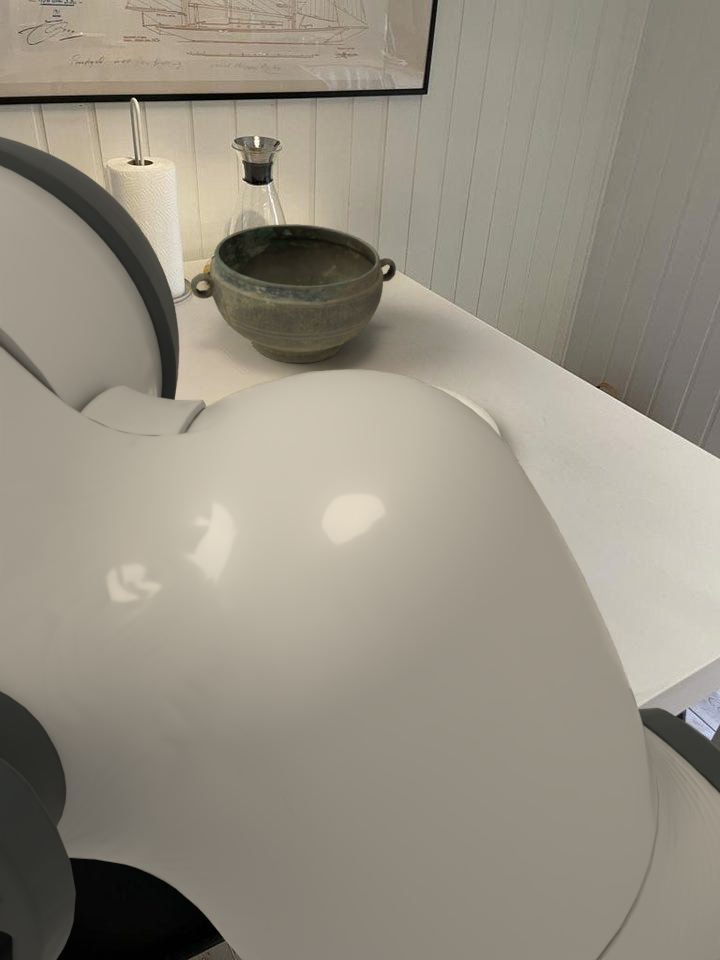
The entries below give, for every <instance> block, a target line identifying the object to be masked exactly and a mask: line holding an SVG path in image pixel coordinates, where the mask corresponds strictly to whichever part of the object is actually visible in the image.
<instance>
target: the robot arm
mask: <svg viewBox="0 0 720 960" xmlns="http://www.w3.org/2000/svg"><path fill="white" fill-rule="evenodd" d="M172 293H173V292H172V290H171V286H170V284H169V281H168V279H167V276H166V273H165V270H164V267H163V266H162V264H161V261H160V259H159V257H158V255H157V253H156V250H155V249H154V247H153V246H152V244H151V243H150V241H149V239H148V237H147V236H146V235H145V233H144V232H143V230H142V229H141V227H140V225H139V224H138V223H137V222H136V221H135V219H134V217H132V216H131V214H130V213H129V212H128V211H127V210H126V208H125V207H124V206H123V205H122V204H121V203H120V202H119V201H118V200H117V199H116V198H115V197H114V196H113V195H112V194H111V193H110V192H108V191H107V190H106V189H105V188H104V187H103V186H102V185H100V183H98V182H96V180H94V179H92V178H91V177H90V176H89V175H87V173H84V172H83V171H82V170H80V169H78V168H77V167H75V166H73V165H72V164H70V163H68V162H67V161H65V160H62V159H60V158H58V157H57V156H55V155H52V154H50V153H48V152H46V151H43V150H41V149H40V148H36V147H33V146H31V145H29V144H26V143H24V142H21V141H18V140H14V139H11V138H7V137H3V136H0V960H57V959H58V958H59V956H60V955H61V953H62V952H63V950H64V948H65V946H66V944H67V941H68V940H69V937H70V935H71V931H72V928H73V924H74V919H75V907H76V896H77V892H76V886H75V881H74V875H73V868H72V863H71V859H86V860H98V861H104V862H110V863H116V864H121V865H127V866H130V867H133V868H136V869H139V870H140V871H143V872H144V873H145V872H146V873H148V874H150V875H152V876H154V877H156V878H158V879H160V880H161V881H164V882H165V883H167V884H168V885H170V886H171V887H173V888H174V889H176V890H177V891H178V892H179V893H180V894H182V895H183V896H184V897H185V898H186V899H187V900H189V901H190V902H191V903H192V904H193V905H194V906H196V907H197V908H198V909H199V910H200V911H201V912H202V914H203V915H205V917H206V918H207V919H208V920H209V921H210V923H211V924H212V926H214V928H215V929H216V930H217V931H218V933H219V934H220V935H221V936H222V938H223V939H224V941H225V942H226V943H227V944H228V945H229V946H230V947H231V949H232V950H233V951H234V952H235V953H236V955H238V957H239V959H241V960H720V747H719V746H718V745H717V744H715V742H713V741H712V740H711V739H709V738H708V737H707V736H706V735H704V734H703V733H702V732H700V731H698V730H697V729H696V728H695V727H694V726H692V725H690V724H689V723H688V722H687V721H684V720H683V719H681V718H679V717H678V716H677V715H675V714H673V713H671V712H669V711H668V710H666V709H663V708H660V707H647V708H639V707H638V704H637V703H638V702H637V700H636V696H635V695H634V692H633V689H632V686H631V683H630V680H629V678H628V676H627V673H626V671H625V668H624V665H623V663H622V660H621V657H620V654H619V652H618V649H617V647H616V645H615V643H614V640H613V637H612V635H611V633H610V630H609V629H608V626H607V624H606V621H605V620H604V617H603V615H602V613H601V611H600V609H599V606H598V604H597V601H596V600H595V598H594V595H593V593H592V590H591V588H590V586H589V584H588V582H587V580H586V578H585V576H584V573H583V572H582V569H581V568H580V566H579V564H578V562H577V560H576V558H575V556H574V554H573V553H572V551H571V549H570V547H569V545H568V543H567V541H566V540H565V537H564V535H563V534H562V532H561V530H560V529H559V526H558V524H557V522H556V520H555V518H554V517H553V516H552V514H551V513H550V510H549V509H548V507H547V506H546V504H545V502H544V500H543V499H542V497H541V496H540V494H539V493H538V491H537V489H536V487H535V486H534V485H533V483H532V480H531V479H530V478H529V476H528V475H527V473H526V471H525V470H524V468H523V466H522V464H521V463H520V461H519V459H518V458H517V456H516V454H515V453H514V452H513V451H512V449H511V448H510V447H509V445H508V444H507V443H506V442H505V440H504V439H503V437H502V436H501V437H500V436H499V434H498V433H497V432H496V431H495V430H494V429H493V428H492V426H491V425H490V424H489V423H488V422H487V421H485V420H484V419H483V418H482V417H481V416H480V415H478V414H477V413H476V412H475V411H474V410H473V409H471V408H470V407H468V406H467V405H466V404H464V403H463V402H461V401H460V400H458V399H457V398H455V397H453V396H451V395H450V394H448V393H446V392H445V391H443V390H441V389H439V388H436V387H434V386H435V385H434V386H432V385H433V384H431V385H429V384H430V383H426V382H423V381H421V380H419V379H414V378H413V377H410V376H407V375H401V374H399V373H394V372H387V371H378V370H371V369H361V368H355V369H349V368H348V369H347V368H346V369H345V368H343V369H330V370H329V369H328V370H317V371H307V372H301V373H300V372H299V373H295V374H290V375H285V376H283V377H279V378H274V379H271V380H268V381H263V382H260V383H257V384H253V385H252V386H248V387H246V388H243V389H241V390H238V391H235V392H233V393H230V394H228V395H226V396H224V397H222V398H220V399H218V400H216V401H213V402H212V403H210V404H208V405H207V404H206V403H205V401H204V400H203V399H176V394H177V389H178V380H179V368H180V367H179V365H180V364H179V363H180V333H179V323H178V316H177V310H176V305H175V301H174V298H173V294H172Z"/></svg>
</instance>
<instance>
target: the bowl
mask: <svg viewBox="0 0 720 960" xmlns="http://www.w3.org/2000/svg"><path fill="white" fill-rule="evenodd" d="M385 266H389V268H388V270H387V271H386V273H384V272H383V268H384V267H385ZM396 271H397V266H396V263H395V261H394V260H393V259H391V258H386V257H383V258H382V259H381V258H380V255H379V253H378V252H377V250H376V249H375V247H374V246H372V245H371V244H370V243H369V242H367V241H365V240H363V239H362V238H361V237H358V236H355V235H353V234H350V233H348V232H345V231H341V230H337V229H334V228H330V227H324V226H317V225H311V224H298V223H297V224H295V223H294V224H293V223H292V224H291V223H290V224H287V223H284V224H269V225H268V224H267V225H259V226H253V227H249V228H245V229H242V230H239V231H236V232H233V233H231V234H228V235H227V236H226V237H224V238H223V239H222V240H221V241H220V242H219V243H218V244H217V246H216V247H215V249H214V252H213V257H212V259H211V261H210V263H209V273H206V272H200V273H198V274H196V275H195V276H194V277H192V279H191V281H190V289H191V293H192V294H193V296H195V297H196V298H197V299H202V300H203V299H209V298H213V301H214V303H215V306H216V308H217V310H218V312H219V313H220V315H221V317H222V318H223V319H224V321H225V322H226V323H227V324H228V326H229V327H230V328H231V329H232V330H233V331H235V332H237V333H238V334H239V335H241V336H242V337H244V338H245V339H247V340H249V341H251V344H252V346H253V348H254V349H255V350H256V351H257V352H258V353H259V354H261V355H263V356H264V357H266V358H268V359H270V360H274V361H276V362H277V361H278V362H282V363H290V364H309V363H316V362H321V361H325V360H328V359H329V358H331V357H333V356H335V355H336V354H337V353H339V351H340V350H341V348H342V347H343V345H344V344H345V343H347V342H349V341H351V340H352V339H353V338H355V336H358V335H359V334H361V332H362V331H363V329H364V328H365V327H366V326H367V325H368V323H369V322H370V321H371V320H372V318H373V317H374V315H375V314H376V312H377V309H378V307H379V304H380V302H381V300H382V294H383V288H384V282H390V281H391V280H393V278H394V277H395V276H396ZM200 282H207V283H209V286H208V288H207V289H203V290H202V289H201V290H199V289H198V284H199V283H200Z"/></svg>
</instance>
